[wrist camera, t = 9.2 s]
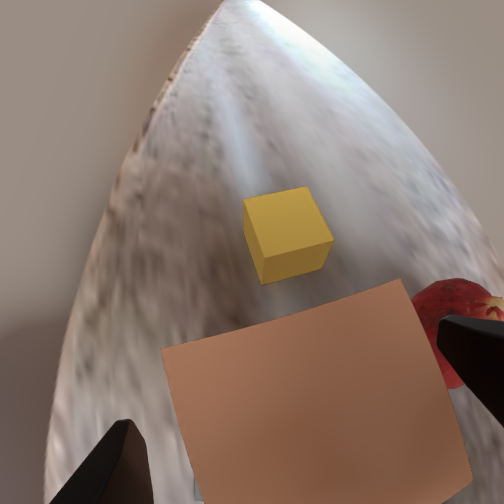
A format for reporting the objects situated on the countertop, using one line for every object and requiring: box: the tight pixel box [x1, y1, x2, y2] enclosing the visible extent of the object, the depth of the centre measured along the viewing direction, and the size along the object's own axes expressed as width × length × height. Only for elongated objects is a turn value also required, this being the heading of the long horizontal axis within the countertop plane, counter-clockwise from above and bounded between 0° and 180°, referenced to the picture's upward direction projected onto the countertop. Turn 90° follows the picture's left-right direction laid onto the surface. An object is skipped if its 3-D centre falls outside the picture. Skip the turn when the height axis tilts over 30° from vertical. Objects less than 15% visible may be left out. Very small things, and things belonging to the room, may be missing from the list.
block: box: [243, 186, 334, 285], centre depth 19 cm, size 4×4×4 cm
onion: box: [411, 278, 504, 389], centre depth 13 cm, size 6×6×8 cm
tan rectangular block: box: [161, 278, 473, 504], centre depth 10 cm, size 6×6×10 cm
